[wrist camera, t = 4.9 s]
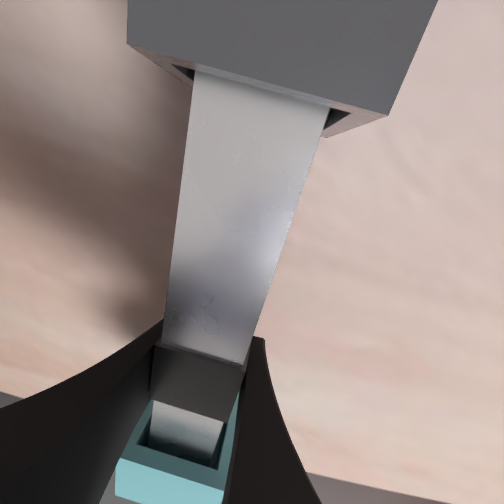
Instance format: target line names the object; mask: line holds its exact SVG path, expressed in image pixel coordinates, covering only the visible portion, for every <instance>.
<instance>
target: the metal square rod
mask: <svg viewBox="0 0 504 504" xmlns="http://www.w3.org/2000/svg"><path fill="white" fill-rule="evenodd" d="M329 109H330V107H328V106H324V105H320V104H317V103H313V102H309V101H306V100H302V99H298V98H295V97H291V96H288V95H284V94H280V93H277V92H273V91H269V90H266V89H262V88H258V87H255V86H251V85H248V84H244V83H240V82H237V81H233V80H229V79H226V78H222V77H218V76H215V75H211V74H208V73H204V72H200V71H197V70H195V76H194V84H193V92H192V100H191V108H190V116H189V124H188V132H187V140H186V148H185V156H184V164H183V172H182V180H181V188H180V196H179V204H178V212H177V220H176V227H175V235H174V243H173V251H172V259H171V267H170V275H169V283H168V291H167V299H166V307H165V315H164V323H163V331H162V335H161V337H160V338H159V340H158V341H157V342H156V344H155V348H154V357H153V366H152V375H151V384H150V393H149V399H151V400H154V403H153V411H152V419H151V426H150V434H149V442H148V448H150V449H153V450H156V451H159V452H162V453H165V454H168V455H171V456H175V457H178V458H181V459H184V460H187V461H190V462H193V463H196V464H200V465H203V466H206V467H209V464H210V461H211V458H212V455H213V452H214V449H215V446H216V443H217V440H218V437H219V434H220V431H221V428H222V425H223V422H225V423H228V421H229V418H230V415H231V412H232V409H233V406H234V404H235V401H236V398H237V395H238V392H239V389H240V387H241V384H242V381H243V378H244V375H245V372H246V367H247V362H248V356H249V351H250V346H251V341H252V337H253V334H254V331H255V328H256V325H257V322H258V319H259V316H260V313H261V310H262V307H263V304H264V301H265V298H266V295H267V292H268V289H269V286H270V283H271V281H272V278H273V275H274V272H275V269H276V266H277V263H278V260H279V257H280V254H281V251H282V248H283V245H284V242H285V239H286V236H287V233H288V230H289V227H290V224H291V221H292V218H293V216H294V213H295V210H296V207H297V204H298V201H299V198H300V195H301V192H302V189H303V186H304V183H305V180H306V177H307V174H308V171H309V168H310V165H311V162H312V159H313V156H314V153H315V151H316V148H317V145H318V142H319V139H320V136H321V133H322V130H323V127H324V124H325V121H326V118H327V115H328V112H329Z"/></svg>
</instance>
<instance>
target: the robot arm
mask: <svg viewBox="0 0 504 504" xmlns="http://www.w3.org/2000/svg"><path fill="white" fill-rule="evenodd" d="M163 323H164V319H162V320H161V321H160V322H158V323H157V324H156V325H154V326H153V327H152V328H150V329H149V330H147V331H146V332H145V333H143V334H142V335H141V336H139V337H138V338H136V339H135V340H133V341H132V342H131V343H129V344H128V345H126V346H125V347H123V348H121V349H120V350H118V351H117V352H115V353H114V354H112V355H111V356H109V357H107V358H106V359H104V360H102V361H101V362H99V363H97V364H95V365H94V366H92V367H90V368H88V369H87V370H85V371H83V372H81V373H79V374H77V375H75V376H73V377H71V378H69V379H67V380H65V381H63V382H61V383H59V384H57V385H55V386H53V387H51V388H48V389H46V390H44V391H42V392H39V393H37V394H35V395H32V396H30V397H28V398H25V399H23V400H20V401H18V402H16V403H13V404H11V405H8V406H6V407H3V408H0V504H99V502H100V500H101V498H102V495H103V493H104V491H105V489H106V487H107V484H108V482H109V480H110V478H111V476H112V474H113V472H114V470H115V467H116V465H117V463H118V461H119V459H120V457H121V455H122V453H123V451H124V449H125V446H126V444H127V442H128V440H129V438H130V436H131V434H132V432H133V430H134V428H135V426H136V424H137V423H138V421H139V419H140V417H141V415H142V414H143V412H144V410H145V409H146V407H147V405H148V404H149V402H150V400H151V399H149V393H150V384H151V375H152V366H153V357H154V348H155V344H156V342H157V341H158V340H159V338H160V337H161V335H162V331H163ZM222 504H322V503H321V501H320V499H319V497H318V495H317V493H316V491H315V490H314V488H313V486H312V484H311V482H310V480H309V478H308V476H307V474H306V472H305V470H304V467H303V465H302V463H301V461H300V458H299V456H298V454H297V452H296V450H295V447H294V445H293V443H292V441H291V438H290V436H289V433H288V431H287V428H286V426H285V423H284V420H283V417H282V415H281V412H280V409H279V406H278V403H277V400H276V396H275V393H274V389H273V386H272V382H271V378H270V373H269V369H268V364H267V358H266V351H265V340H264V339H263V338H260V337H255V336H253V337H252V341H251V346H250V351H249V356H248V362H247V367H246V372H245V375H244V378H243V381H242V384H241V387H240V389H239V397H238V405H237V414H236V422H235V431H234V439H233V446H232V453H231V458H230V463H229V469H228V474H227V479H226V484H225V489H224V495H223V500H222Z"/></svg>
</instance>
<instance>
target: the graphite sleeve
mask: <svg viewBox="0 0 504 504" xmlns="http://www.w3.org/2000/svg"><path fill="white" fill-rule="evenodd" d="M437 2H438V0H128V18H127V44H128V45H129V46H131V47H132V48H134V49H135V50H137V51H138V52H140V53H141V54H142V55H144V56H145V57H147V58H148V59H150V60H151V61H153V62H154V63H156V64H157V65H159V66H160V67H162V68H163V69H165V70H166V71H168V72H169V73H171V74H172V75H174V76H175V77H177V78H178V79H180V80H181V81H183V82H184V83H186V84H187V85H189V86H190V87H192V88H193V84H194V76H195V70H197V71H200V72H204V73H208V74H211V75H215V76H218V77H222V78H226V79H229V80H233V81H237V82H240V83H244V84H248V85H251V86H255V87H258V88H262V89H266V90H269V91H273V92H277V93H280V94H284V95H288V96H291V97H295V98H298V99H302V100H306V101H309V102H313V103H317V104H320V105H324V106H328V107H330V109H329V112H328V115H327V118H326V121H325V124H324V127H323V130H322V133H321V136H322V137H326V138H328V137H331V136H334V135H336V134H339V133H342V132H345V131H347V130H350V129H353V128H356V127H358V126H361V125H364V124H367V123H369V122H372V121H375V120H377V119H380V118H383V117H386V116H388V115H389V113H390V110H391V108H392V106H393V103H394V101H395V99H396V96H397V94H398V92H399V89H400V87H401V85H402V82H403V80H404V78H405V76H406V73H407V71H408V69H409V66H410V64H411V62H412V59H413V57H414V55H415V52H416V50H417V48H418V45H419V43H420V41H421V39H422V36H423V34H424V32H425V29H426V27H427V25H428V22H429V20H430V18H431V15H432V13H433V11H434V8H435V6H436V4H437Z"/></svg>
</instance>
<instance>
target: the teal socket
mask: <svg viewBox="0 0 504 504" xmlns="http://www.w3.org/2000/svg"><path fill="white" fill-rule="evenodd" d="M238 397H239V392H238V395H237V398H236V401H235V404H234V406H233V409H232V412H231V415H230V418H229V421H228V423H225V422H223V425H222V428H221V431H220V434H219V437H218V440H217V443H216V446H215V449H214V452H213V455H212V458H211V461H210V464H209V467H206V466H203V465H200V464H196V463H193V462H190V461H187V460H184V459H181V458H178V457H175V456H171V455H168V454H165V453H162V452H159V451H156V450H153V449H150V448H148V442H149V434H150V426H151V419H152V411H153V403H154V400H150V402H149V404H148V405H147V407H146V409H145V410H144V412H143V414H142V415H141V417H140V419H139V421H138V423H137V424H136V426H135V428H134V430H133V432H132V434H131V436H130V438H129V440H128V442H127V444H126V446H125V449H124V451H123V453H122V455H121V457H120V459H119V461H118V463H117V465H116V482H115V495H117V496H120V497H123V498H126V499H129V500H132V501H135V502H138V503H141V504H220V503H221V501H222V499H223V495H224V489H225V484H226V479H227V474H228V469H229V463H230V458H231V453H232V446H233V439H234V431H235V422H236V414H237V405H238Z"/></svg>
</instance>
